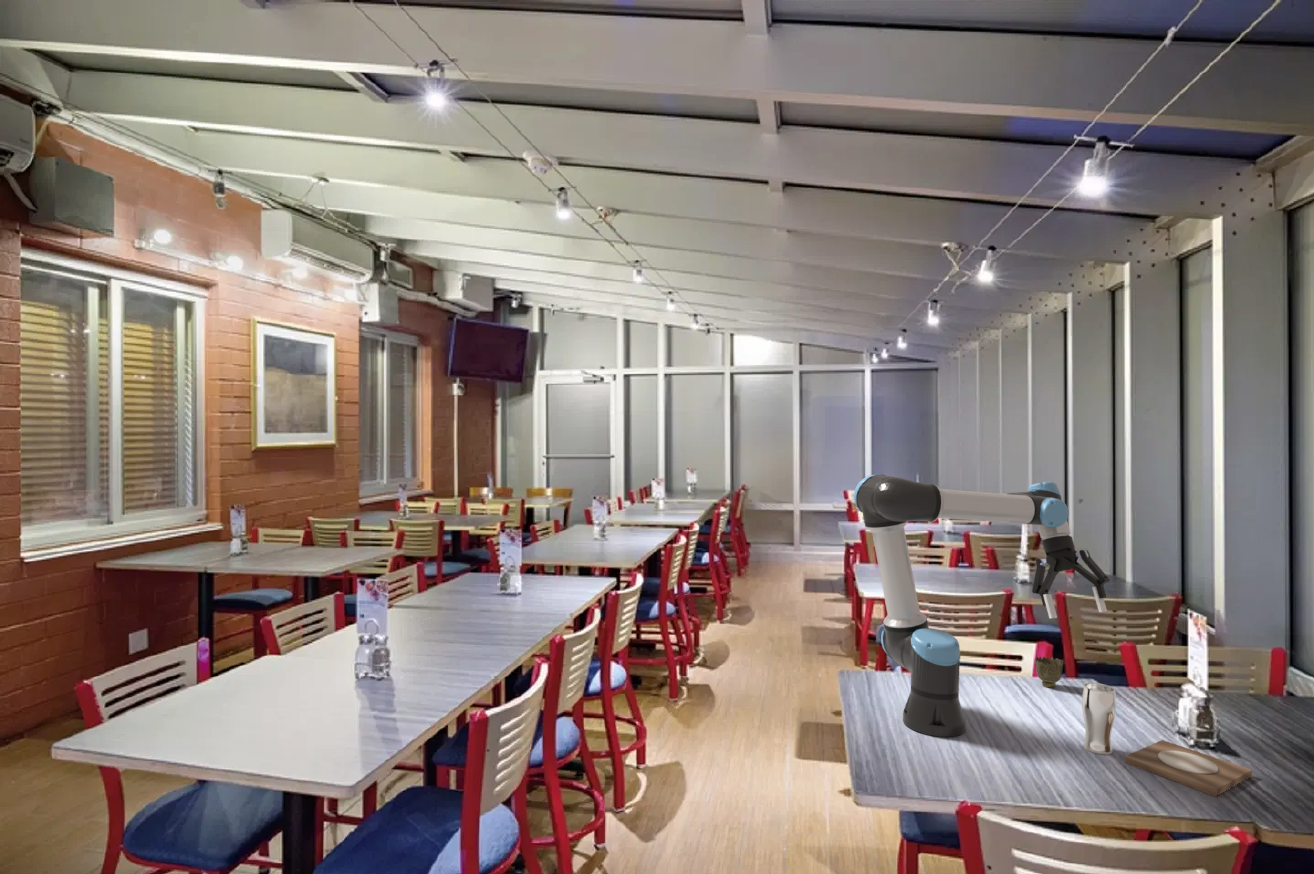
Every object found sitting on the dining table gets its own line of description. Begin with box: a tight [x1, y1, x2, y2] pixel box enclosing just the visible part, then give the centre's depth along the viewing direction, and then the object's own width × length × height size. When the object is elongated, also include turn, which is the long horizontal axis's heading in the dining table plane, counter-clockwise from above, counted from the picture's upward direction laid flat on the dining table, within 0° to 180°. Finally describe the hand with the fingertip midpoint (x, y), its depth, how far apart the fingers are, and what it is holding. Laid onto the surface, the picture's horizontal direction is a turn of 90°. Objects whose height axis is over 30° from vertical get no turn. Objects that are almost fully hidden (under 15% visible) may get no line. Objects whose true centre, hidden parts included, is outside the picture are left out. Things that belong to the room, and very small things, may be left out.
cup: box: [1034, 656, 1064, 689], centre depth 219 cm, size 8×7×8 cm
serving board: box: [1124, 739, 1253, 797], centre depth 165 cm, size 18×18×2 cm
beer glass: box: [1081, 682, 1117, 756], centre depth 175 cm, size 7×7×15 cm
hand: (1077, 615), depth 196 cm, fingers open, 13 cm apart
